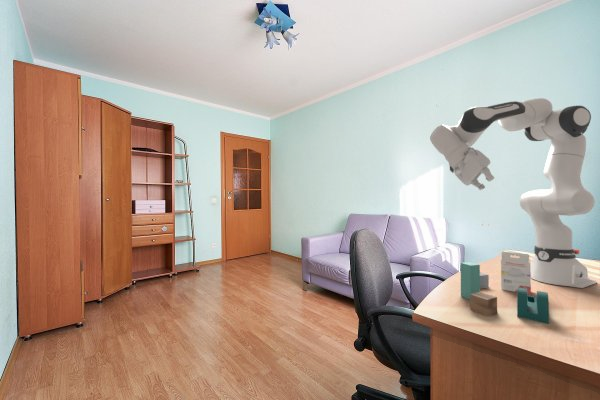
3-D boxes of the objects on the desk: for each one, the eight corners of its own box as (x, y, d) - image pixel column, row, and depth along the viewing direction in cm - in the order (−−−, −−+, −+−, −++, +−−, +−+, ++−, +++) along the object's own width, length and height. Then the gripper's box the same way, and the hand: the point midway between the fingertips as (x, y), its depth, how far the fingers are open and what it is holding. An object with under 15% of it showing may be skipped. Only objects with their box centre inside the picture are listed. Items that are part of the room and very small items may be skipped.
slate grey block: (477, 283, 107) (476, 271, 107) (488, 287, 102) (488, 274, 102) (467, 284, 106) (467, 272, 106) (478, 288, 101) (478, 275, 101)
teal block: (469, 294, 94) (469, 262, 94) (479, 299, 90) (479, 264, 90) (460, 296, 93) (460, 262, 93) (470, 300, 89) (470, 265, 89)
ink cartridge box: (530, 291, 97) (530, 252, 97) (530, 295, 94) (530, 254, 94) (502, 286, 103) (502, 249, 103) (500, 289, 99) (500, 251, 99)
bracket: (548, 324, 72) (548, 296, 72) (517, 317, 77) (517, 290, 77) (544, 304, 86) (544, 280, 86) (517, 299, 90) (517, 276, 90)
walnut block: (480, 307, 84) (479, 291, 84) (497, 313, 79) (497, 297, 79) (470, 310, 82) (470, 294, 82) (487, 316, 77) (487, 299, 77)
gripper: (477, 140, 93) (506, 168, 88) (462, 164, 112) (485, 189, 106) (461, 149, 94) (489, 178, 88) (448, 172, 112) (471, 197, 107)
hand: (487, 184), depth 97 cm, fingers open, 8 cm apart
